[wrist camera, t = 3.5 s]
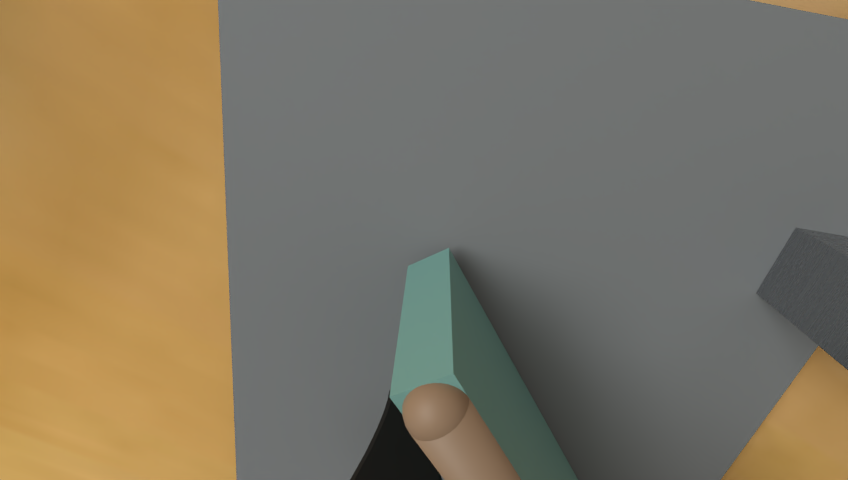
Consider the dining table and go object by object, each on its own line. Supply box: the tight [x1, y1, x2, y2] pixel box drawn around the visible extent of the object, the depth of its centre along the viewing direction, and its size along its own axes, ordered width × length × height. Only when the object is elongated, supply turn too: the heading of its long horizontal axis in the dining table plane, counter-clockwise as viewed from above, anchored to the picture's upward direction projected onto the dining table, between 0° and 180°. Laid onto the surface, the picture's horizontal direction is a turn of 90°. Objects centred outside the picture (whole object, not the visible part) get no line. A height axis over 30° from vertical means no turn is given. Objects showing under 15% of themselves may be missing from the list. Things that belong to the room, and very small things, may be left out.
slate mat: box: [218, 0, 848, 480], centre depth 14 cm, size 21×17×1 cm
